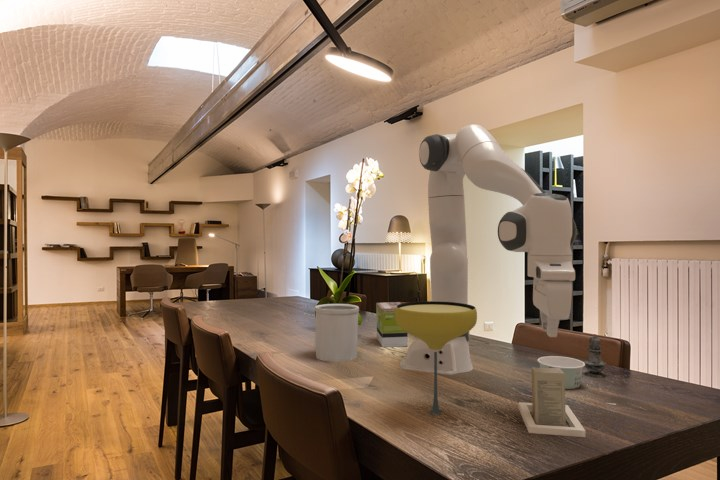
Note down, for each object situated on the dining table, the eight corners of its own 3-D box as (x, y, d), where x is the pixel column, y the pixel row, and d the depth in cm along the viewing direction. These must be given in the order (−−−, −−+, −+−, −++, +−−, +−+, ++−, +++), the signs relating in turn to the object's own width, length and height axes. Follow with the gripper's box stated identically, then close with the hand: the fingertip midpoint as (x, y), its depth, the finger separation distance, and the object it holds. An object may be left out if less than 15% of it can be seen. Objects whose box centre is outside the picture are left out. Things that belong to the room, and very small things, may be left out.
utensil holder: (351, 351, 169) (351, 302, 168) (365, 362, 154) (365, 308, 154) (310, 355, 164) (310, 304, 164) (321, 366, 150) (320, 310, 150)
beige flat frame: (528, 439, 95) (528, 426, 95) (518, 413, 109) (518, 402, 109) (585, 443, 93) (585, 430, 93) (567, 416, 107) (567, 405, 107)
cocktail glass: (493, 428, 101) (493, 310, 100) (414, 439, 95) (413, 314, 95) (453, 400, 118) (452, 299, 118) (384, 408, 113) (384, 302, 113)
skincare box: (562, 423, 103) (562, 367, 103) (566, 431, 99) (566, 373, 99) (530, 421, 104) (530, 365, 104) (533, 429, 100) (533, 371, 100)
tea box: (375, 338, 190) (375, 302, 190) (400, 338, 191) (400, 301, 191) (381, 347, 175) (381, 307, 175) (408, 346, 176) (408, 307, 176)
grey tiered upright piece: (608, 378, 136) (608, 336, 136) (586, 377, 137) (586, 335, 137) (602, 372, 142) (602, 332, 142) (581, 371, 143) (581, 331, 143)
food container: (582, 395, 122) (582, 369, 122) (533, 387, 128) (533, 363, 128) (587, 383, 132) (587, 359, 132) (542, 376, 138) (542, 353, 138)
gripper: (526, 265, 112) (526, 324, 112) (542, 272, 92) (542, 343, 92) (554, 266, 111) (554, 325, 111) (577, 272, 91) (577, 344, 91)
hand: (549, 333), depth 101 cm, fingers open, 4 cm apart
